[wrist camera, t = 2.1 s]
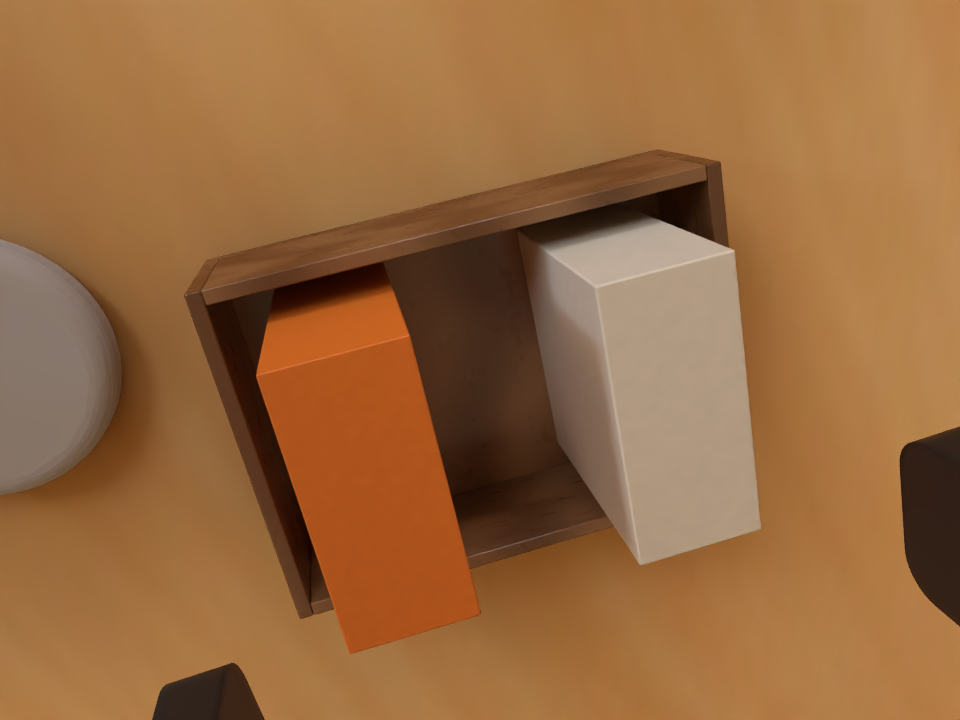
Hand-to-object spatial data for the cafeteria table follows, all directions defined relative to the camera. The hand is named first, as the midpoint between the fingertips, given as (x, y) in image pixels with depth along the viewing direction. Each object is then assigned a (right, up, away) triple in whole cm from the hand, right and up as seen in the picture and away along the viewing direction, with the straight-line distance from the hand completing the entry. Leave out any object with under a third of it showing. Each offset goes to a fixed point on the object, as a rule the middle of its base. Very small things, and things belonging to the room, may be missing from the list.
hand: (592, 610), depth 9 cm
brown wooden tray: (-2, +3, +22) cm, 22 cm away
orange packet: (-6, +2, +21) cm, 22 cm away
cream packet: (+3, +4, +22) cm, 22 cm away
